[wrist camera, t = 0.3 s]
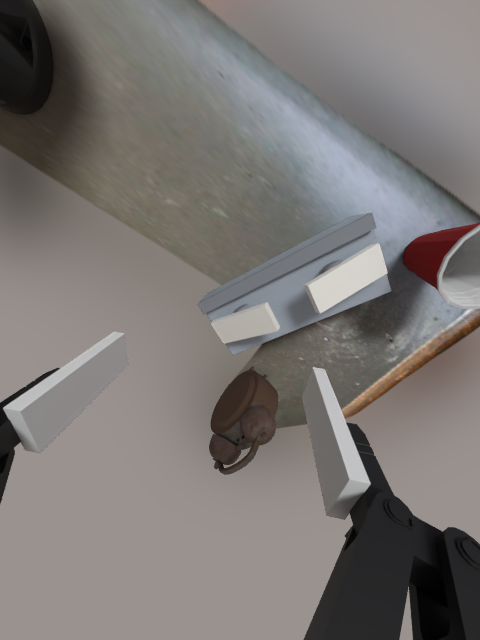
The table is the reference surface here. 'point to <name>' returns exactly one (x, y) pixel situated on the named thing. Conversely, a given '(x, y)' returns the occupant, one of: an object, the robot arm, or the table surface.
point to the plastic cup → (449, 263)
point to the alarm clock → (242, 420)
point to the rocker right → (345, 277)
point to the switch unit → (296, 281)
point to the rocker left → (246, 323)
